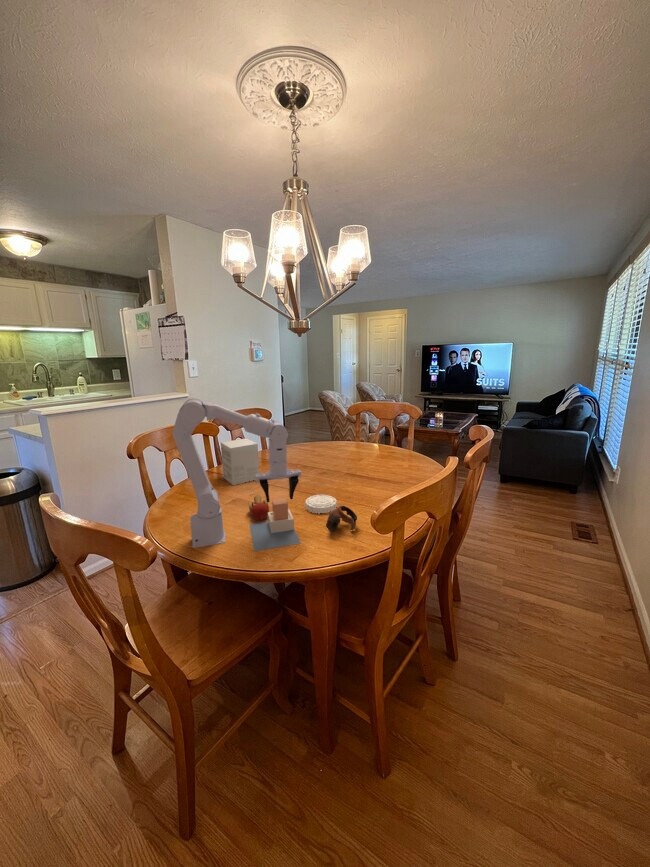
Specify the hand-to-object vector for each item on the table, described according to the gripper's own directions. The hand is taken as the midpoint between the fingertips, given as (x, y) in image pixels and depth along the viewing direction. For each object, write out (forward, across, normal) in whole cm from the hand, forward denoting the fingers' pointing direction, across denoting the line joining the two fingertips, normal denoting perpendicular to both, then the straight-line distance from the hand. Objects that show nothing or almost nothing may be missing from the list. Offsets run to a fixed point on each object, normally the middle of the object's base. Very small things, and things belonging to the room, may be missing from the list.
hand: (279, 499), depth 111 cm
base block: (+10, 0, 0) cm, 10 cm away
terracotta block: (+7, 0, 0) cm, 7 cm away
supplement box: (+10, -10, +52) cm, 54 cm away
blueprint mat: (+10, -3, -4) cm, 11 cm away
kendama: (+10, -6, +14) cm, 19 cm away
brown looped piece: (+10, +18, -7) cm, 22 cm away
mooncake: (+10, +17, +10) cm, 22 cm away
